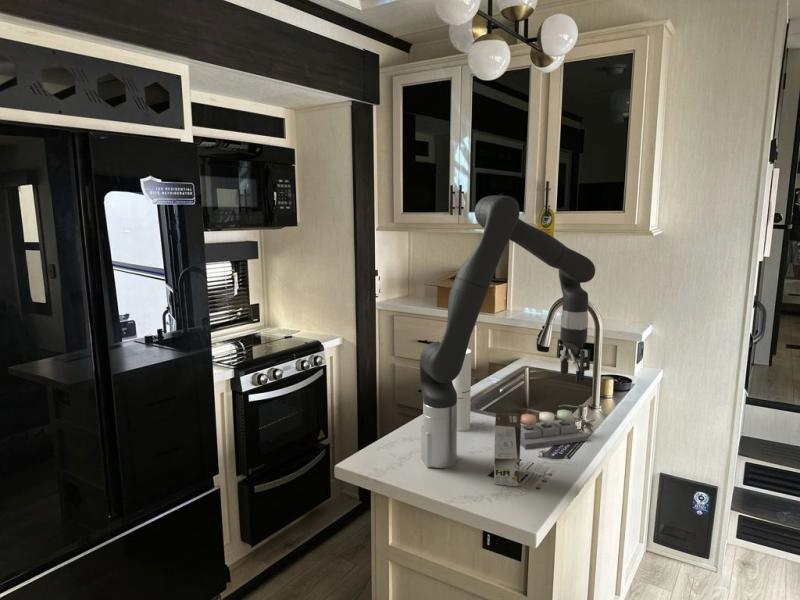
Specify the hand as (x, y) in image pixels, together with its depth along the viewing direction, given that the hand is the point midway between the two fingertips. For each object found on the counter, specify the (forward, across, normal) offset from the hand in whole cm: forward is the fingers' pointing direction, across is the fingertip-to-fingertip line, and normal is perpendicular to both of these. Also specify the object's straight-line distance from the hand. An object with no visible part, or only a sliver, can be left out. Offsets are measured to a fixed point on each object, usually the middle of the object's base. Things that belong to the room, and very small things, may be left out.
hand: (571, 378), depth 163 cm
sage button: (+15, -2, -1) cm, 15 cm away
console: (+18, -2, -7) cm, 20 cm away
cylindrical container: (+19, -15, -30) cm, 38 cm away
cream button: (+15, -2, -7) cm, 17 cm away
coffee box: (+19, +18, -28) cm, 38 cm away
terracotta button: (+15, -2, -13) cm, 20 cm away
